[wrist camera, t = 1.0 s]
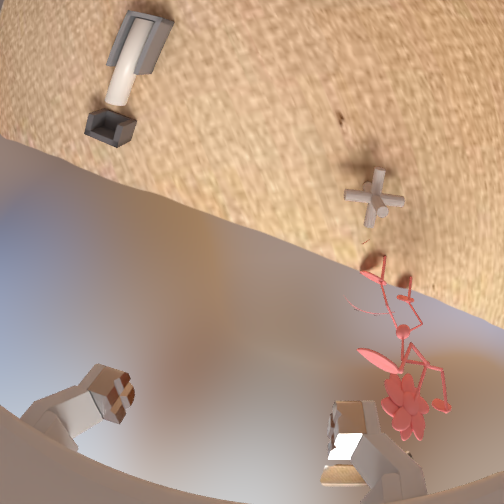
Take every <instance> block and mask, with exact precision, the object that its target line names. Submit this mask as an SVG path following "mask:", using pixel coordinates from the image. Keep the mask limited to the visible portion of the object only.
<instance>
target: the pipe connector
mask: <svg viewBox="0 0 504 504" xmlns="http://www.w3.org/2000/svg"><path fill="white" fill-rule="evenodd" d="M385 171H386V170H385V169H384V168H381V167H375V169H374V174H373V180H372V183H370V182H365V183H364V184H363V189H364V191H359V190H351V189H345V191H344V200H346V201H356V202H364V203H368V206H367V211H366V216H365V221H364V226H365V227H367V228H373V227H374V224H375V220H376V215H378V216H379V217H381V218H384V217H386V216H387V215H388V212H389V211H388V208H387V207H386V205H389V206H396V207H403V206H404V202H405V200H404V197H403V196H397V195H390V194H383V193H381V192H382V187H383V182H384V177H385Z"/></svg>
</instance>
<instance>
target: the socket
mask: <svg viewBox="0 0 504 504" xmlns="http://www.w3.org/2000/svg"><path fill="white" fill-rule="evenodd" d="M136 123H137V121H136V120H133V119H131V118H128V117H126V116H123V115H121V114H118V113H115V112H113V111H110V110H107V109H105V108H104V109H101V110H98V111H95V112H92V113H89V116H88V120H87V124H86V128H85V132H84V134H85V135H88V136H90V137H93V138H95V139H97V140H100V141H102V142H104V143H107V144H109V145H111V146H114V147H116V148H118V147H120V146H122V145H124V144H125V143H127V142H129V141H131V138H132V135H133V132H134V129H135V126H136Z"/></svg>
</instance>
